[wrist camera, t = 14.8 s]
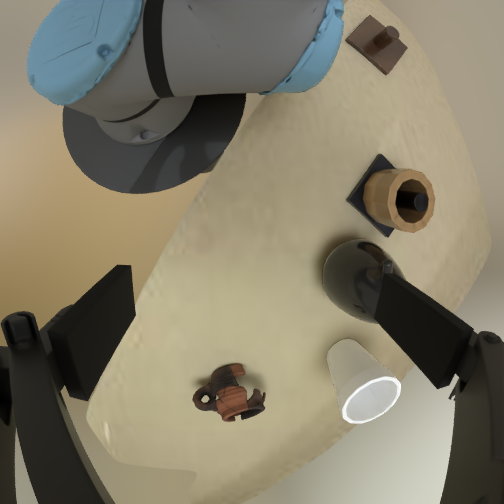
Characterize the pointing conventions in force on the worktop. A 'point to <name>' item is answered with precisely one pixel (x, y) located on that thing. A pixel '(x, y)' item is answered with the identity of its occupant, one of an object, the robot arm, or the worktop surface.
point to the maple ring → (384, 197)
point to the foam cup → (360, 382)
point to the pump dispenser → (357, 277)
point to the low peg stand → (378, 44)
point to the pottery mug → (229, 395)
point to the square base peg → (403, 198)
